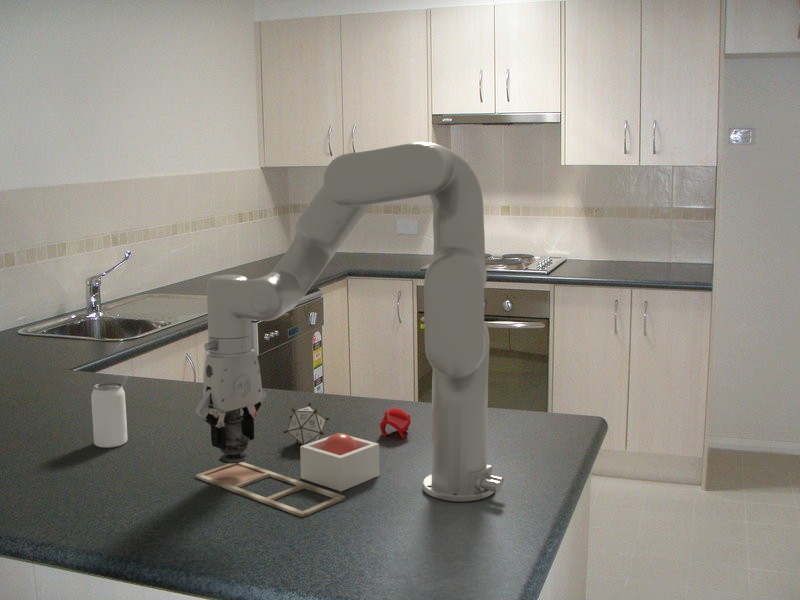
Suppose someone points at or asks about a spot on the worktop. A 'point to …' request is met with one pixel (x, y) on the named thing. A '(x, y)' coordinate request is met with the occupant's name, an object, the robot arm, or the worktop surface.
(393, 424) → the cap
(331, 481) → the dome housing
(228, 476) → the game track
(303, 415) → the game die
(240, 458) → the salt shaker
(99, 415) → the can
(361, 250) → the worktop surface
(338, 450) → the pop dome
